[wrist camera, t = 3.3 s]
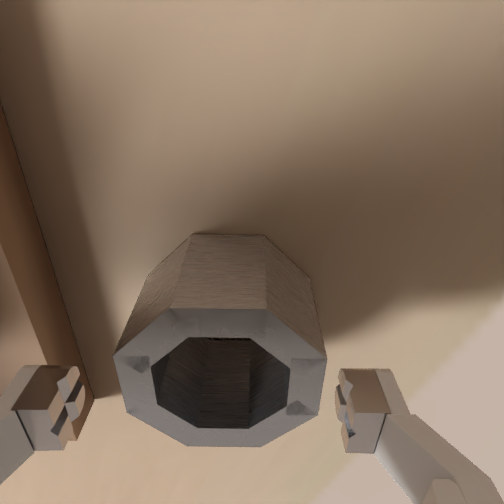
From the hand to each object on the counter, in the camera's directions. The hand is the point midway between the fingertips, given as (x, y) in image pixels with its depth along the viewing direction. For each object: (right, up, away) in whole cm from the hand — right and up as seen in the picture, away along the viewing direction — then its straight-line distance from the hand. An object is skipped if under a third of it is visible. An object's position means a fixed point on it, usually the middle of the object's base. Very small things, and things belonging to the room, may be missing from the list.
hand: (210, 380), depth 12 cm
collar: (0, +2, +3) cm, 4 cm away
